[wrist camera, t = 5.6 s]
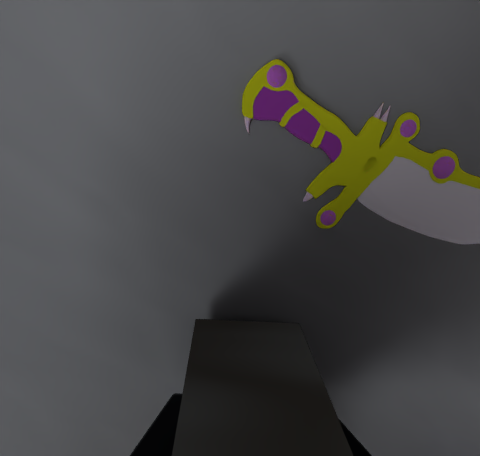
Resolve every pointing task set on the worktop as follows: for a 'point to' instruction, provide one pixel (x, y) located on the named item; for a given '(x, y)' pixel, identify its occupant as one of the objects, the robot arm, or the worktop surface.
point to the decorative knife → (371, 163)
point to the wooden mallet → (255, 394)
